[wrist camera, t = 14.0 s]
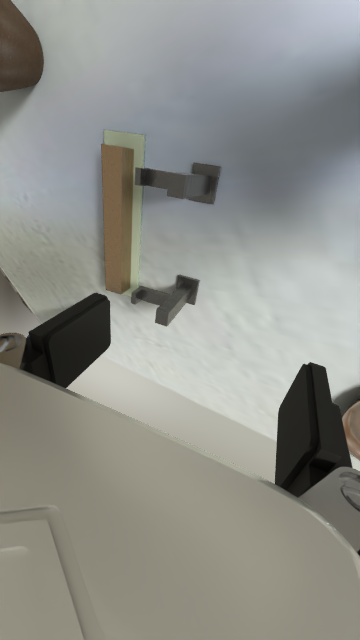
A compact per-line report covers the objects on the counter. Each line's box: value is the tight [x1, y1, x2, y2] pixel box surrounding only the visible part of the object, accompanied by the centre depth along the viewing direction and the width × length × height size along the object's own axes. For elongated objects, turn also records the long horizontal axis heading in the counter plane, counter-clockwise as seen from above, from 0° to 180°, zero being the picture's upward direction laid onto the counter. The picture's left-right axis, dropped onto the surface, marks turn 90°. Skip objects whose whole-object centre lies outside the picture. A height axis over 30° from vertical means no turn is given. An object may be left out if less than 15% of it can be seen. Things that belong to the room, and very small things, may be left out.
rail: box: [101, 144, 134, 294], centre depth 44 cm, size 24×4×4 cm, turn 172°
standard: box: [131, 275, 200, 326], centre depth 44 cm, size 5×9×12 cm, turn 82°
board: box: [104, 130, 145, 297], centre depth 46 cm, size 28×7×1 cm, turn 172°
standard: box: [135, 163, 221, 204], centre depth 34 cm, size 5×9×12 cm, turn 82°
